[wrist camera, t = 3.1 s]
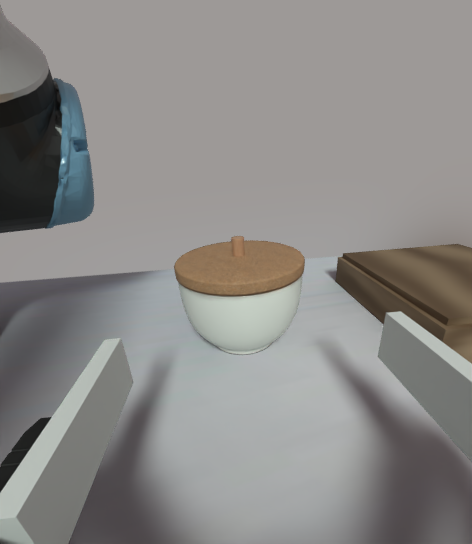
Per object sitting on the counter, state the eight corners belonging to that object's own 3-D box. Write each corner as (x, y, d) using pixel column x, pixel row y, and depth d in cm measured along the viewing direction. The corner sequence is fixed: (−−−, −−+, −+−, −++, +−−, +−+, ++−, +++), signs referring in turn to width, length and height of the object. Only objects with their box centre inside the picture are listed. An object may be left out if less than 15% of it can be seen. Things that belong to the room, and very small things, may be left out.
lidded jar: (246, 296, 31) (242, 220, 27) (324, 333, 23) (333, 233, 19) (167, 333, 24) (148, 241, 21) (237, 401, 17) (226, 272, 13)
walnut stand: (434, 368, 18) (448, 322, 17) (335, 281, 33) (338, 252, 31) (634, 347, 19) (664, 301, 17) (449, 271, 34) (457, 242, 32)
